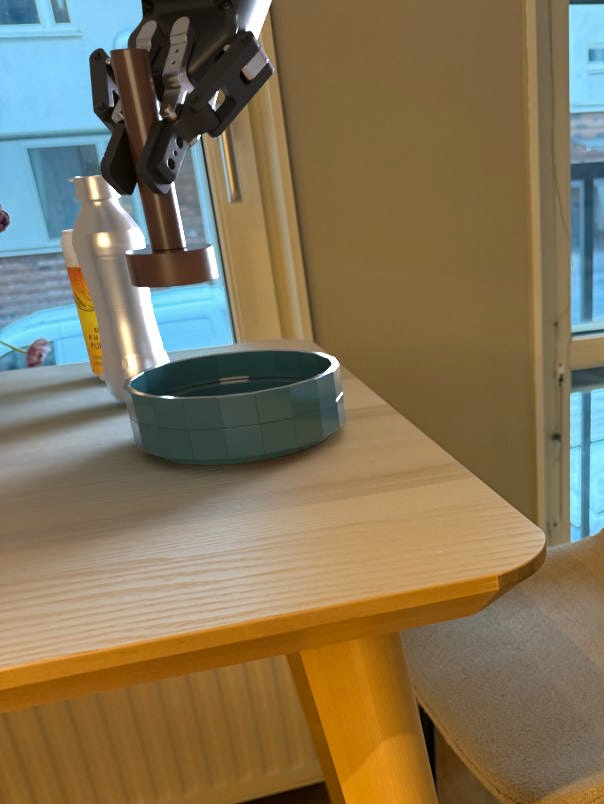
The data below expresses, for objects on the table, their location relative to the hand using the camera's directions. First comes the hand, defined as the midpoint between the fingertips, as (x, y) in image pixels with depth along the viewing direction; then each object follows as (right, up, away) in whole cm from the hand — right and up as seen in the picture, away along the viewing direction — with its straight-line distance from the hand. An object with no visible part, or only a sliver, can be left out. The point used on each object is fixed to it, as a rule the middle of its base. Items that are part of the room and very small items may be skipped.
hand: (133, 184), depth 57 cm
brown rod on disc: (+1, -4, +5) cm, 6 cm away
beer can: (-18, +1, +46) cm, 49 cm away
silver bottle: (-12, -5, +35) cm, 37 cm away
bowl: (+1, -11, +22) cm, 24 cm away
